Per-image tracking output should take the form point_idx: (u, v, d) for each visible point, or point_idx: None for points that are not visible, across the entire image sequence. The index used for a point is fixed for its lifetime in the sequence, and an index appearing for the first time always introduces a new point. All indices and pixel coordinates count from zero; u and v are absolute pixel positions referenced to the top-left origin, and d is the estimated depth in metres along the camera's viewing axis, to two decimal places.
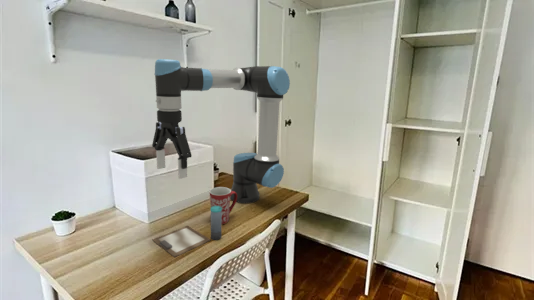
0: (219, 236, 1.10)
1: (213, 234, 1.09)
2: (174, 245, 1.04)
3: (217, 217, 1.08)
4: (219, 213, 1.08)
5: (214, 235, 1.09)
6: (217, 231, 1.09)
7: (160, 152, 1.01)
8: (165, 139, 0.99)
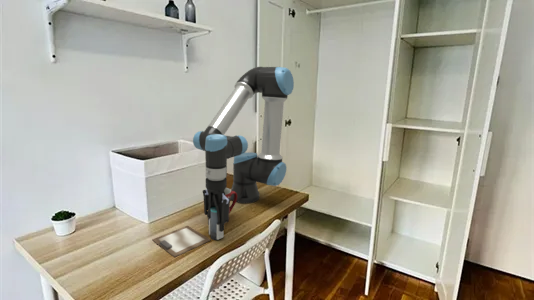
0: None
1: (213, 234, 1.09)
2: (174, 245, 1.04)
3: (217, 217, 1.07)
4: None
5: (213, 235, 1.09)
6: None
7: None
8: (214, 204, 1.10)
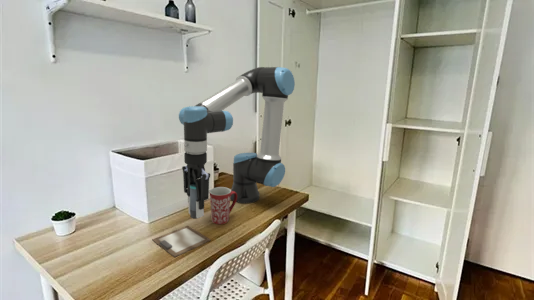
0: None
1: (192, 213, 1.04)
2: (174, 245, 1.04)
3: (196, 194, 1.02)
4: None
5: (193, 213, 1.04)
6: None
7: None
8: (194, 181, 1.04)
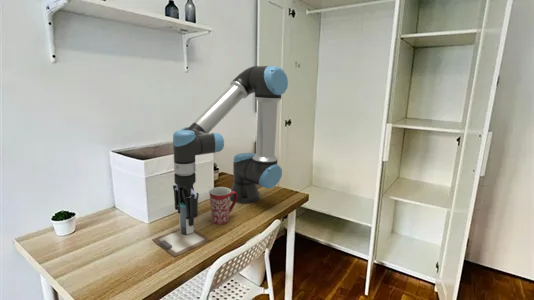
0: None
1: (183, 229, 1.11)
2: (174, 245, 1.04)
3: (186, 212, 1.09)
4: None
5: (183, 229, 1.10)
6: None
7: None
8: (184, 199, 1.11)
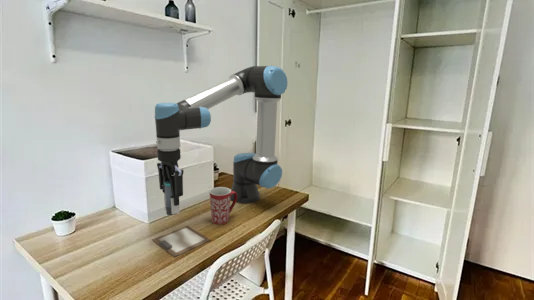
0: None
1: (168, 209, 1.04)
2: (174, 245, 1.04)
3: (171, 191, 1.02)
4: None
5: (168, 210, 1.04)
6: None
7: None
8: (169, 178, 1.05)
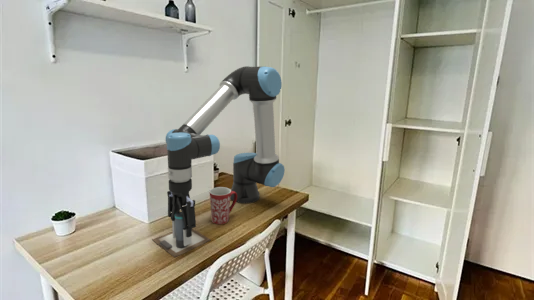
0: None
1: (178, 243, 1.02)
2: (174, 245, 1.04)
3: (181, 224, 1.00)
4: None
5: (178, 243, 1.02)
6: (182, 239, 1.02)
7: None
8: (178, 207, 1.03)
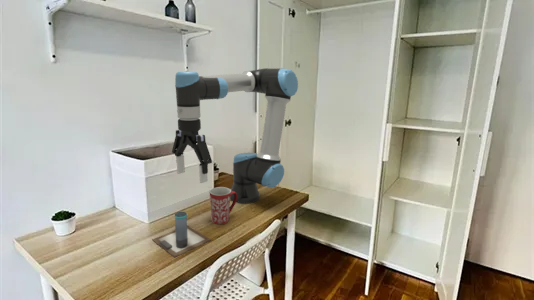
0: (185, 244, 1.03)
1: (178, 242, 1.02)
2: (174, 245, 1.04)
3: (181, 224, 1.00)
4: (184, 220, 1.01)
5: (178, 243, 1.02)
6: (182, 238, 1.02)
7: (180, 158, 1.07)
8: (185, 146, 1.05)
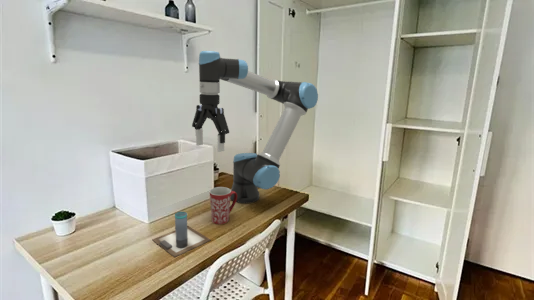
0: (185, 244, 1.03)
1: (178, 242, 1.02)
2: (174, 245, 1.04)
3: (181, 224, 1.00)
4: (184, 219, 1.01)
5: (178, 243, 1.02)
6: (182, 238, 1.02)
7: (199, 131, 1.19)
8: (204, 119, 1.17)
